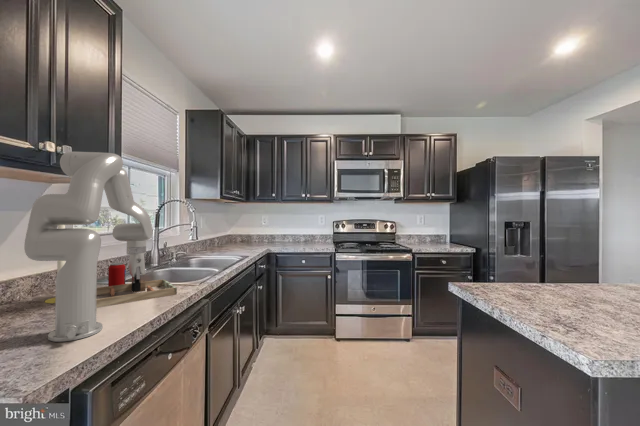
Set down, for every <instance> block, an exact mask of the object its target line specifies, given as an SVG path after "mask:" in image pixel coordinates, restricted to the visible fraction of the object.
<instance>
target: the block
mask: <svg viewBox="0 0 640 426" xmlns="http://www.w3.org/2000/svg"><path fill="white" fill-rule="evenodd" d="M140 282H141V290H140V291H136V292H132V294H134V293H141V292H146V288H145V282H146V280H140Z"/></svg>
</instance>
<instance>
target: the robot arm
mask: <svg viewBox="0 0 640 426" xmlns="http://www.w3.org/2000/svg"><path fill="white" fill-rule="evenodd" d="M59 165H60V169H61V170H62V172H63V173H64V174H65V175H66V176H67V177H69V178H70V181H69V185H68V190H67V192H66V193H47V194H43V195H40V196H39V197H38V198H37V199H36V200H35V201H34V203H33V205H32V207H31V210H30V214H29V219H28V224H27V229H26V233H25V238H24V253H25V256H26V257H27V258H28V259H30V260H32V261H36V262H51V261H52V262H54V261H55V262H57V261H65V264H64V266H63V267H62V268H61V269H60V270H59V272H58V273H56V276H55V297H56V303H55V309H54V310H55V319H54V320H55V321H54V323H55V328H54V330H52V331H50V332H49V333H48V334H47V339H48V341H50V342H55V343H56V342H59V343H62V342H69V341H77V340H81V339H85V338H87V337H91V336H93V335H95V334H97V333H99V332H100V331H102V329H103V323H101V322H98V321H97V308H96V306H97V299H98V298H97V296H98V295H97V288H98V286H97V285H98V278H97V277H98V276H97V275H98V261H99V255H100V250H101V247H102V246H101V245H102V239H101V236H100V234H99V232H97V231H95V230H92V229H89V228H78V227H77V228H76V227H75V228H74V227H73V228H72V227H71V228H70V227H69V228H67V227H65V228H64V229H58V225H65V226H81V225H82V226H83V225H84V226H85V225H91V224H94V223H96V222H97V221H98V219H99V217H100V212H101V206H102V202H103V201H102V200H103V192H105V196H106V200H107V202H108V205H109V206H108V207H110V208H111V209H112V210H114V211H117V212H119V213H122V214H124V215H128V216H129V217H132V218H134V219H135V220H137V221H138V222H139V223H137V222H136V223H134V222H133V223H132V222H131V223H128V222H127V223H125V222H124V223H119V224H116V225H115V226H114V227H113V229H112V231H111V232H112V236H113V238H114V239H115V240H117V241H118V242H119V241H120V242H126V255H127V256H129V259H128V260H129V261H128V262H129V263H128V265H129V266H128V267H129V270H128V271H129V275H130V276H131V283H132V290H131V292H132V293H133V292H134V293H137V292H136V291H140V290H141V282H140V281H141V277H142V276H143V277H144V276H145V275H146V265H145V264H146V263H145V254H147V241H148V240H150V239H151V238H152V236H153V226H152V225H153V224H152V221H151V217H150V215H149V213H148V212H147V211H146V210H145V209H144V208H143V207H142V206H141V205H140V204H138V203H137V202H135V200H134V195H133V191H132V188H131V184H130V180H129V175H128V172H127V170H125V168H123V165H124V161H123V158H122V156H120V155H119V154H117V153H113V152H101V151H97V152H95V151H68V152H65V153H63V154H62V155H61V156H60V159H59Z"/></svg>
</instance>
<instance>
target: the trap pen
mask: <svg viewBox="0 0 640 426" xmlns="http://www.w3.org/2000/svg"><path fill="white" fill-rule="evenodd" d="M157 287H163V288H162V289H154V288H157ZM145 289H146V291H142V292H134V293H129V294H123V295H121V294H120V295H116V293H121V292H127V291H132V282H131V283H125V284H123V285H115V286H108V285H107V286H101V287H97V296H101V295H106V294H107V295H108V294H110V296H109V297H103V298H102V297H101V298H97V306H96V309H97V308H102V307H109V306H114V305H120V304H126V303H132V302H137V301H138V302H139V301H145V300H151V299H156V298H157V299H158V298H163V297H170V296H175V295H177V293H178V287H177V286H175V284H172V283H171V282H169V281H168V280H166V279H164V278H163V279H155V280H149V281H147V280H145Z"/></svg>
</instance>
